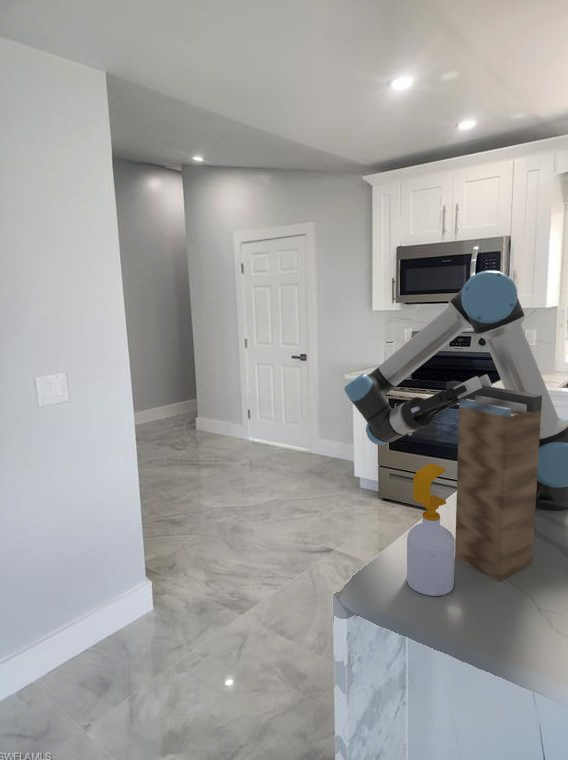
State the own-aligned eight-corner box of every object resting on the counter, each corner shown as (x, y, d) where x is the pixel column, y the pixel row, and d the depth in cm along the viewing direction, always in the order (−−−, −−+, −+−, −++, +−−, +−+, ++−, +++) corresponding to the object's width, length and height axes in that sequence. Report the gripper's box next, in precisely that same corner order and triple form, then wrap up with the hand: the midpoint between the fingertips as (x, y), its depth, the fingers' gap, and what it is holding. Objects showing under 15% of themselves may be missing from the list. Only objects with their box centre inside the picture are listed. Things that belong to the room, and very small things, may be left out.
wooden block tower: (453, 556, 110) (457, 399, 104) (485, 542, 116) (491, 391, 109) (499, 581, 101) (507, 409, 94) (532, 563, 106) (541, 400, 100)
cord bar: (446, 394, 115) (446, 382, 114) (453, 393, 116) (454, 380, 115) (533, 412, 97) (534, 397, 97) (541, 410, 98) (542, 395, 98)
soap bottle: (463, 587, 99) (467, 469, 95) (430, 602, 95) (432, 479, 90) (429, 566, 107) (431, 456, 102) (397, 579, 103) (398, 465, 98)
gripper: (438, 424, 129) (513, 392, 110) (394, 435, 121) (466, 403, 102) (428, 397, 131) (499, 361, 112) (383, 406, 123) (452, 369, 104)
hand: (483, 381), depth 107 cm, fingers closed on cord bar, 3 cm apart
